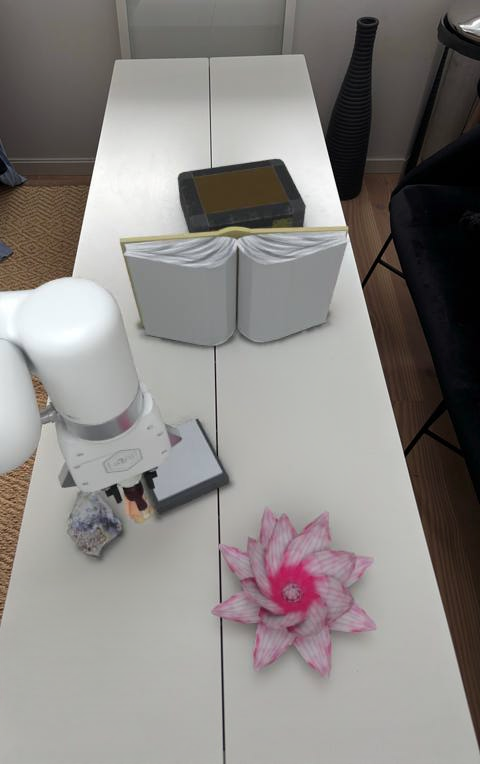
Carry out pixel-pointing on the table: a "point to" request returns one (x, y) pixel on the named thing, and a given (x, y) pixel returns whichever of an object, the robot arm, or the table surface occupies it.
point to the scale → (188, 470)
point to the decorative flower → (295, 590)
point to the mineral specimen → (92, 523)
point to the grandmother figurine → (136, 500)
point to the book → (234, 281)
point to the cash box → (241, 197)
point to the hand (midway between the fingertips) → (132, 484)
